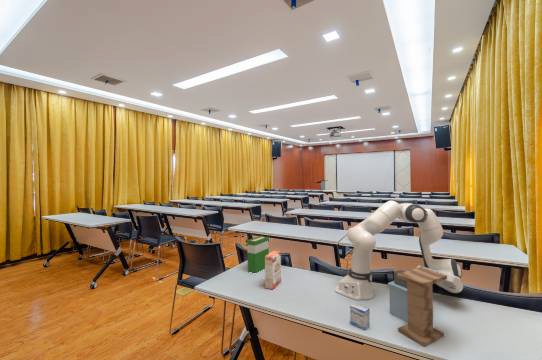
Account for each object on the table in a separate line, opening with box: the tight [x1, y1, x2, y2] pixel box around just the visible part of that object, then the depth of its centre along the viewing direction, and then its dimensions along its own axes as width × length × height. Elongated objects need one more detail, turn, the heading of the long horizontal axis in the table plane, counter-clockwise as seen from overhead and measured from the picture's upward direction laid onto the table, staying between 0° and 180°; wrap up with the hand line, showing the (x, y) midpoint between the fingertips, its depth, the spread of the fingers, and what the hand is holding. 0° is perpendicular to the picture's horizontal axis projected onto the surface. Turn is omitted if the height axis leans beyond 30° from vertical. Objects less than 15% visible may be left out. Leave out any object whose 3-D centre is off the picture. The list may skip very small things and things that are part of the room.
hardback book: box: [246, 235, 270, 274], centre depth 197 cm, size 18×7×24 cm, turn 147°
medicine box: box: [349, 302, 371, 331], centre depth 120 cm, size 8×4×9 cm, turn 44°
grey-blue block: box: [387, 280, 408, 324], centre depth 129 cm, size 17×11×16 cm, turn 117°
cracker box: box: [264, 250, 282, 290], centre depth 168 cm, size 14×6×21 cm, turn 156°
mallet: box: [393, 269, 407, 288], centre depth 131 cm, size 23×8×6 cm, turn 118°
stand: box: [397, 267, 447, 348], centre depth 113 cm, size 17×12×26 cm
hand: (428, 270), depth 136 cm, fingers open, 8 cm apart
